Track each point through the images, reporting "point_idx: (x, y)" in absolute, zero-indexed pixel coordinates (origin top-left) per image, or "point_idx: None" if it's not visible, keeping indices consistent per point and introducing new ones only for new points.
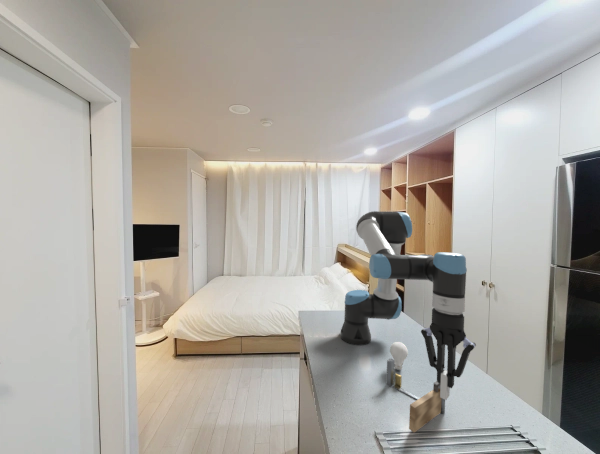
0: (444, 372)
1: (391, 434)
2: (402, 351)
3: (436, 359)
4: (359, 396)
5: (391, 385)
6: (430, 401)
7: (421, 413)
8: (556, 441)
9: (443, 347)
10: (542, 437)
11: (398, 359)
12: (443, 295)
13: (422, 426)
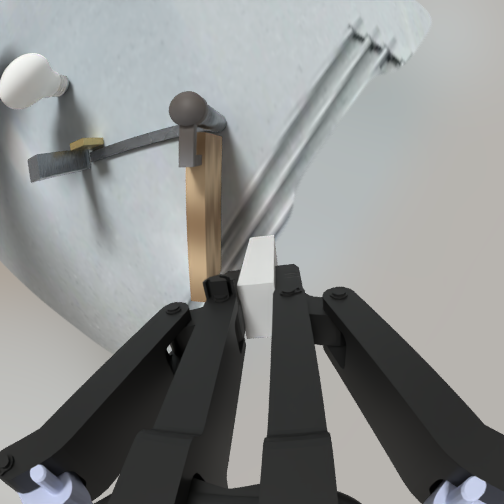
0: (253, 313)
1: (194, 301)
2: (28, 85)
3: (179, 327)
4: (88, 266)
5: (88, 162)
6: (208, 211)
7: (213, 255)
8: (415, 20)
9: (218, 459)
10: (399, 24)
11: (42, 96)
12: None
13: (220, 233)
